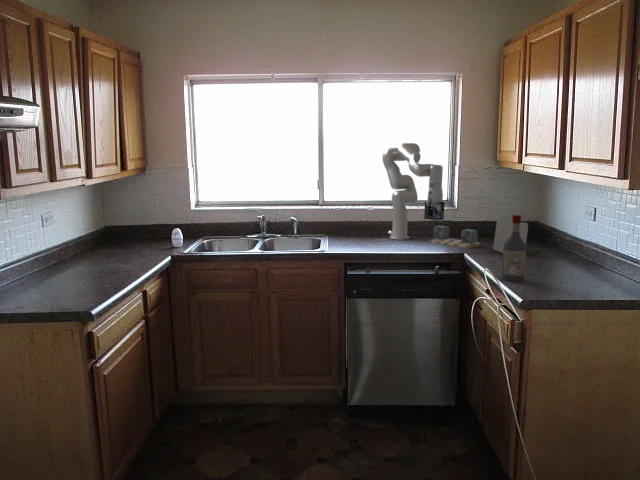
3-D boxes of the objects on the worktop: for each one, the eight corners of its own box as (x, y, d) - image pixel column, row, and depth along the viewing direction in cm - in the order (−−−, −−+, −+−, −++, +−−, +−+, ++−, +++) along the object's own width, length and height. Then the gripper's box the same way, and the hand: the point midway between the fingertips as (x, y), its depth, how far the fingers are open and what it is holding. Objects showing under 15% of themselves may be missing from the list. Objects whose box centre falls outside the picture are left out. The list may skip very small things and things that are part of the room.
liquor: (524, 282, 249) (529, 217, 244) (503, 281, 251) (508, 216, 245) (520, 277, 258) (525, 214, 253) (500, 276, 260) (504, 214, 254)
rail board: (429, 242, 347) (429, 226, 345) (441, 239, 357) (442, 224, 355) (468, 248, 327) (469, 232, 326) (480, 245, 337) (481, 229, 335)
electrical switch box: (528, 255, 318) (533, 221, 317) (516, 255, 308) (521, 220, 307) (505, 251, 329) (509, 218, 327) (492, 251, 319) (497, 217, 317)
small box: (423, 218, 329) (424, 201, 327) (427, 217, 335) (428, 200, 333) (440, 220, 324) (441, 202, 322) (444, 219, 329) (445, 201, 327)
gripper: (432, 187, 317) (431, 217, 320) (448, 185, 329) (447, 214, 332) (421, 186, 322) (420, 215, 326) (438, 184, 334) (436, 213, 338)
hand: (434, 215), depth 329 cm, fingers closed on small box, 7 cm apart
